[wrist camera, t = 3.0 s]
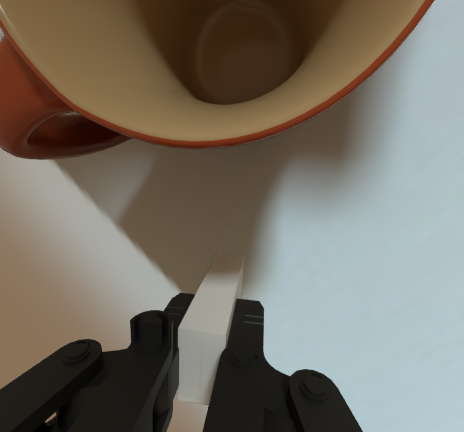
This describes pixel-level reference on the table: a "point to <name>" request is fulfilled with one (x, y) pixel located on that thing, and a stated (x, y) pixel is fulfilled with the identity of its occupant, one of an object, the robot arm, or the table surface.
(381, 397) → the table surface
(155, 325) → the robot arm
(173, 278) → the table surface
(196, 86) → the mug
